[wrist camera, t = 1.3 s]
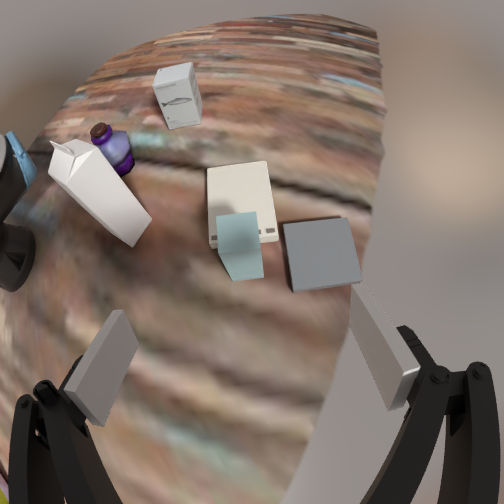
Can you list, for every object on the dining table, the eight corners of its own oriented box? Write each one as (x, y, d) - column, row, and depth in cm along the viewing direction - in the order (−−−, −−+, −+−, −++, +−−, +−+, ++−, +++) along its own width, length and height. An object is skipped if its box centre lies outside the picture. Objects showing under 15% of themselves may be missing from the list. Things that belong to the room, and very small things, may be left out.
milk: (130, 207, 45) (65, 122, 25) (153, 219, 44) (86, 128, 23) (111, 234, 43) (34, 158, 23) (132, 249, 42) (50, 169, 22)
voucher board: (278, 240, 41) (278, 234, 38) (212, 248, 41) (208, 243, 39) (266, 167, 46) (265, 159, 44) (209, 175, 46) (207, 167, 44)
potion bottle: (145, 147, 51) (123, 106, 39) (137, 179, 47) (110, 138, 36) (111, 155, 51) (86, 119, 40) (101, 187, 48) (71, 151, 37)
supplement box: (168, 131, 52) (150, 86, 40) (172, 110, 54) (157, 68, 43) (202, 125, 51) (188, 77, 40) (203, 104, 54) (192, 60, 42)
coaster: (359, 282, 37) (362, 280, 36) (292, 292, 37) (293, 290, 36) (344, 221, 41) (347, 217, 39) (282, 228, 41) (283, 224, 40)
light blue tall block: (263, 277, 39) (260, 248, 28) (232, 281, 39) (218, 253, 29) (260, 247, 40) (256, 210, 30) (230, 251, 40) (216, 215, 30)
